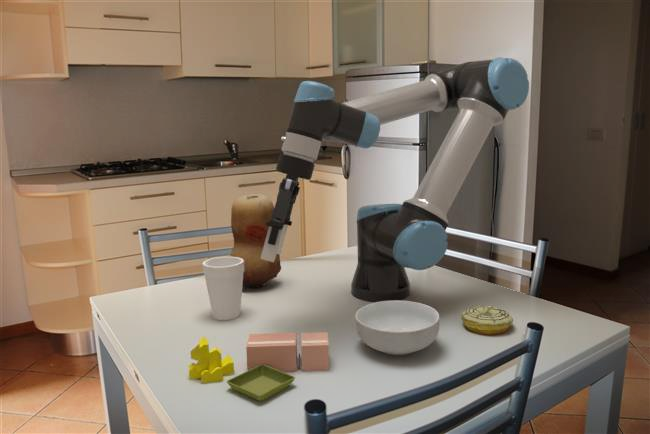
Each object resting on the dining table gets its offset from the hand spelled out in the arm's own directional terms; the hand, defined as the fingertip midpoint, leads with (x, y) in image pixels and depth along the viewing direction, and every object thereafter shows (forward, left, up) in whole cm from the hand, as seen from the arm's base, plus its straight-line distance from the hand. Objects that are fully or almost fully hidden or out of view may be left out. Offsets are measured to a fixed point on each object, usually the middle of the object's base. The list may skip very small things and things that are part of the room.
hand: (270, 256), depth 118 cm
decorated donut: (-46, -1, -18) cm, 49 cm away
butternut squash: (+7, -35, -18) cm, 40 cm away
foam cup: (+12, -13, -18) cm, 25 cm away
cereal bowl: (-25, +8, -18) cm, 32 cm away
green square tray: (+1, +23, -18) cm, 29 cm away
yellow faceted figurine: (+10, +17, -18) cm, 27 cm away
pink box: (-9, +14, -17) cm, 24 cm away
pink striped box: (-1, +14, -17) cm, 22 cm away
